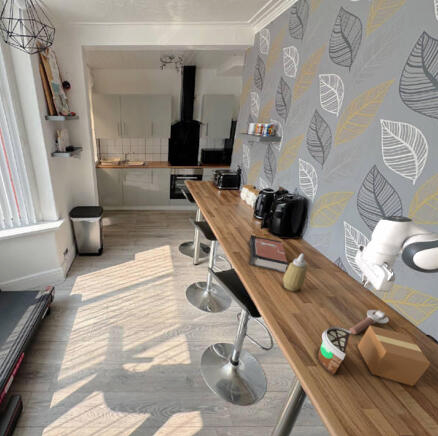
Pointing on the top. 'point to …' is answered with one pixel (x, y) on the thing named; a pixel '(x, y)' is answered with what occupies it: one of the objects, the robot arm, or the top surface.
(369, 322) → the pizza cutter
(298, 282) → the squeeze bottle
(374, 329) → the carton
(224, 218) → the top surface
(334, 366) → the food container
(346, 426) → the top surface
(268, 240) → the book
